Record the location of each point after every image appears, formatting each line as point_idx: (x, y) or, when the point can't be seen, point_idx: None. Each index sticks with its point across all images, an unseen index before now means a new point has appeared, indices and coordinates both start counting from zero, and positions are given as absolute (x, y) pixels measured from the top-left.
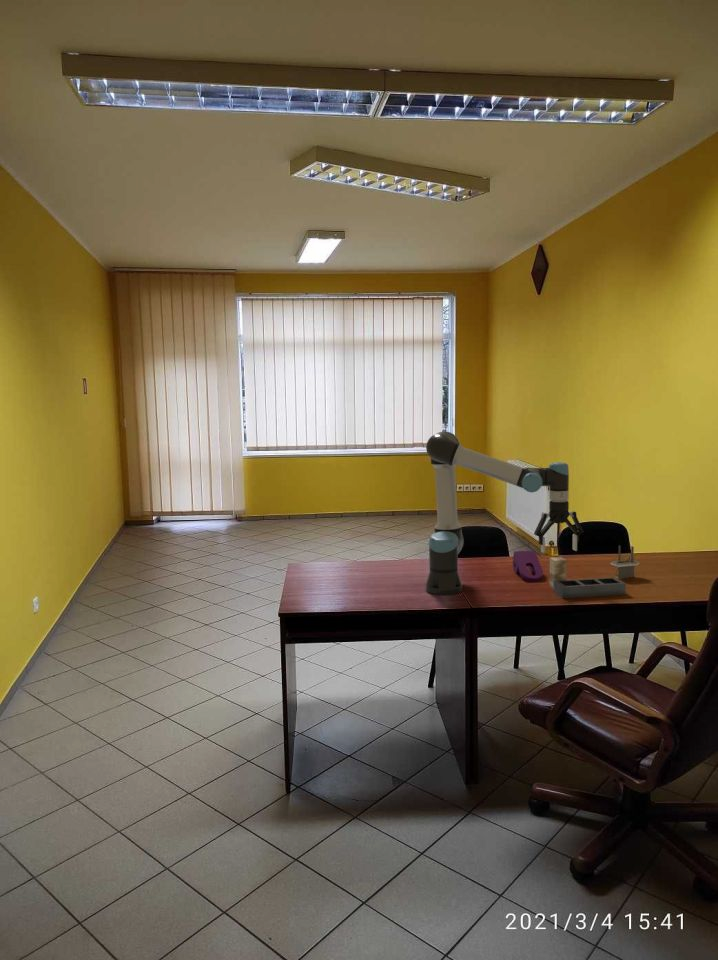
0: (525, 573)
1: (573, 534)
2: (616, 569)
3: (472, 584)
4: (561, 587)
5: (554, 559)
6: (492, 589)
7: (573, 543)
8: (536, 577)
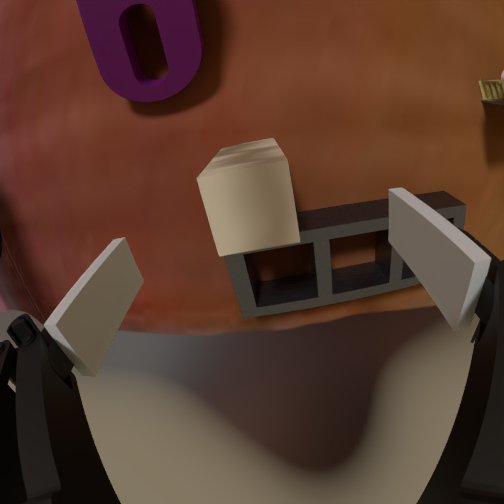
0: (120, 80)
1: (471, 281)
2: (499, 83)
3: (3, 173)
4: (241, 308)
5: (223, 227)
6: (44, 214)
7: (415, 234)
8: (169, 93)
